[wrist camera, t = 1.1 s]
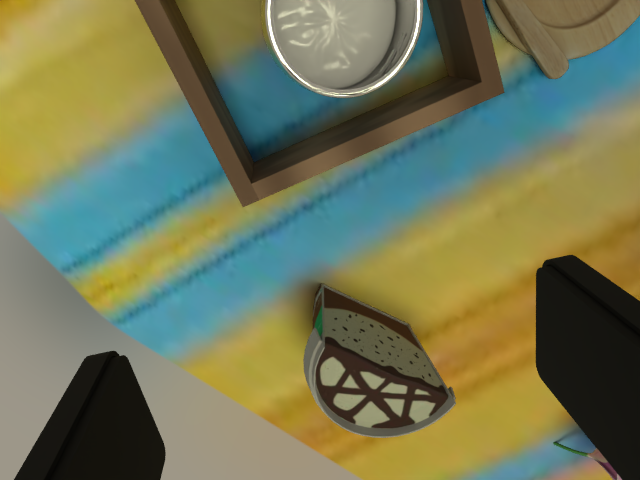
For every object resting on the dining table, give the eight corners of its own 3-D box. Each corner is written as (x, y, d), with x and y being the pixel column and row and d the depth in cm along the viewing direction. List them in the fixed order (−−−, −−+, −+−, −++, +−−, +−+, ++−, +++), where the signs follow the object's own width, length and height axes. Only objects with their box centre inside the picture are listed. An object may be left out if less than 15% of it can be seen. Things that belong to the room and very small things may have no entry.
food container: (272, 330, 42) (273, 410, 33) (306, 275, 41) (316, 344, 31) (386, 378, 46) (415, 463, 37) (421, 329, 44) (461, 406, 35)
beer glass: (374, -15, 32) (452, -57, 19) (348, 88, 35) (400, 119, 21) (274, -44, 31) (278, -111, 17) (255, 65, 34) (245, 81, 20)
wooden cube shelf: (398, -171, 29) (428, -221, 24) (468, 84, 36) (504, 92, 30) (133, -43, 30) (103, -61, 25) (246, 182, 37) (243, 207, 31)
